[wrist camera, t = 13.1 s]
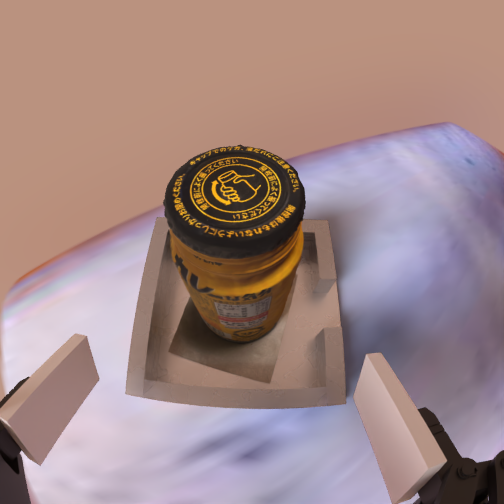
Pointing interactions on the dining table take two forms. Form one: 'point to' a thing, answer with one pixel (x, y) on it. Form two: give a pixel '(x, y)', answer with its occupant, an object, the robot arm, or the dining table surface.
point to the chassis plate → (290, 353)
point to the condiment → (235, 256)
